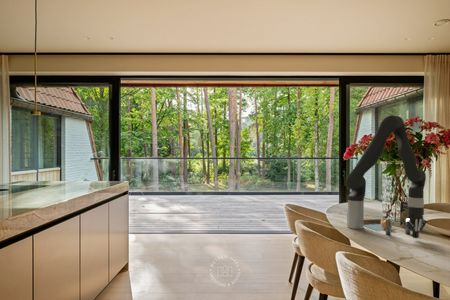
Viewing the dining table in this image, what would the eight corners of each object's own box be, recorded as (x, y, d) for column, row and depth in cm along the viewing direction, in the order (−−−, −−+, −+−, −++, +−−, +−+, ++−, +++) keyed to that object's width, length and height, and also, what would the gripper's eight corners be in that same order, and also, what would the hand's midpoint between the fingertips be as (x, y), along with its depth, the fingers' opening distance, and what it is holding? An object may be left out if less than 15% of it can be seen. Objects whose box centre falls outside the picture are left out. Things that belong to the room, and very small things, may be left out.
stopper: (354, 223, 216) (354, 219, 216) (378, 222, 219) (378, 218, 219) (356, 224, 214) (356, 220, 214) (380, 223, 217) (380, 219, 217)
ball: (386, 225, 195) (382, 231, 199) (395, 225, 196) (391, 231, 200) (382, 217, 200) (378, 223, 204) (391, 217, 201) (386, 223, 204)
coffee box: (399, 226, 208) (399, 201, 208) (406, 225, 211) (406, 200, 211) (412, 229, 200) (413, 203, 200) (419, 229, 203) (420, 203, 203)
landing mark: (362, 225, 211) (362, 224, 211) (381, 224, 214) (381, 224, 214) (376, 230, 197) (376, 230, 197) (396, 229, 200) (396, 229, 200)
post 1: (384, 234, 189) (384, 218, 189) (388, 234, 189) (388, 218, 189) (387, 235, 186) (387, 219, 186) (391, 235, 187) (391, 219, 187)
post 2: (404, 233, 191) (404, 218, 191) (408, 233, 192) (408, 217, 192) (407, 234, 189) (407, 219, 189) (411, 234, 189) (411, 218, 189)
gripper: (420, 204, 181) (420, 235, 181) (400, 204, 179) (399, 236, 179) (431, 206, 174) (431, 239, 174) (410, 207, 171) (410, 240, 171)
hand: (415, 237), depth 176 cm, fingers closed
